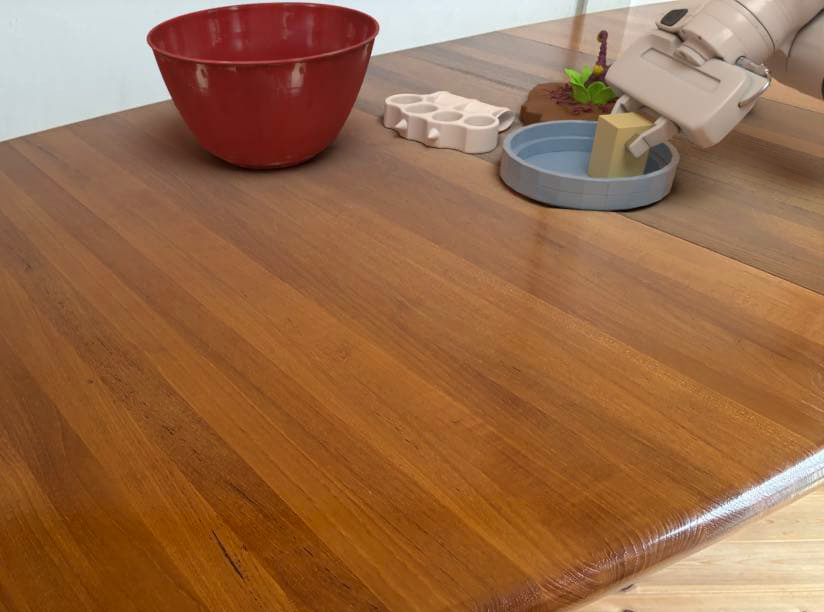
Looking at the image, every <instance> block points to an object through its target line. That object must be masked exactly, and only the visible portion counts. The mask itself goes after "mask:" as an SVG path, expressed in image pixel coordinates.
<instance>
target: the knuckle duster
mask: <svg viewBox="0 0 824 612" xmlns="http://www.w3.org/2000/svg"><path fill="white" fill-rule="evenodd" d="M383 105H384V107H383V108H384V109H383V126H384V127H385V128H386V129H392V130H395V131H397V132H398V133H399V136H400V137H402V138H404V139H406V140H409V141H414V142H415V141H416V142H419V143H422V144H423V145H425V146H427V147H431V148H435V149H436V148H437V149H449V150H455V151H460V152H462V153H464V154H474V155H475V154H486V153H489V152H492V151H493V150H495V149H496V147H497V145H498V137H499V133H500V132H502V131H505V130H506V129H508V128H509V127H510V126H511V125H512V124H513V122H514V120H515V112H514V111H513V110H511V109H510V108H509V107H505V106H501V107H500V106H496V105H492V104H489V103H485V102H482V101H480V100H478V99H476V98H467V97H464V96H460V95H456V94H453V93H450V92H449V91H447V90H441V91H440V90H439V91H435V92H431V93H430V94H417V93H416V94H415V93H399V94H393V95H390V96H387V98H386V99H384V104H383Z"/></svg>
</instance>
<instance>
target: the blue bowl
mask: <svg viewBox="0 0 824 612" xmlns="http://www.w3.org/2000/svg"><path fill="white" fill-rule="evenodd" d="M597 123H598V121H585V120H561V121H549V122H542V123H535V124H531V125H528V126H521V127H519V128H517V129H515V130H513V131H511V132H509V133H508V134H507V136H506V137H505V138H504V140H503V143H502V150H501V157H500V162H499V163H500V165H499V176H500V177H501V179H502V181H503V182H504V183H505V185H507V186H508V187H510V188H511V189H512V190H513V191H515V192H517V193H519V194H521V195H522V196H524V197H526V198H528V199H530V200H533V201H536V202H538V203H541V204H544V205H547V206H552V207H556V208H561V209H567V210H572V211H585V212H587V211H589V212H619V211H626V210H633V209H636V208H640V207H645V206H649V205H651V204H653V203H656V202H658V201H660V200H661V201H662V200H663V198H665V197H666V196H667V195H668V194H670V192H671V190H672V187H673V183H674V180H675V177H676V173H677V170H678V166H679V162H680V158H681V155H680V154H679V151H678V149H677V147H675V145H673V144H672V143H671V142H670V141H669V140H667V141H665V142H663V143H660V144H658V145H656V146H653V147H650V149H649V153H648V157H647V161H646V165H645V169H644V173H643V175H640V176H634V177H621V178H592V177H591V176H589V175H588V174H587V172H588V167H589V162H590V157H591V152H592V147H593V143H594V138H595V133H596V128H597Z"/></svg>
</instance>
